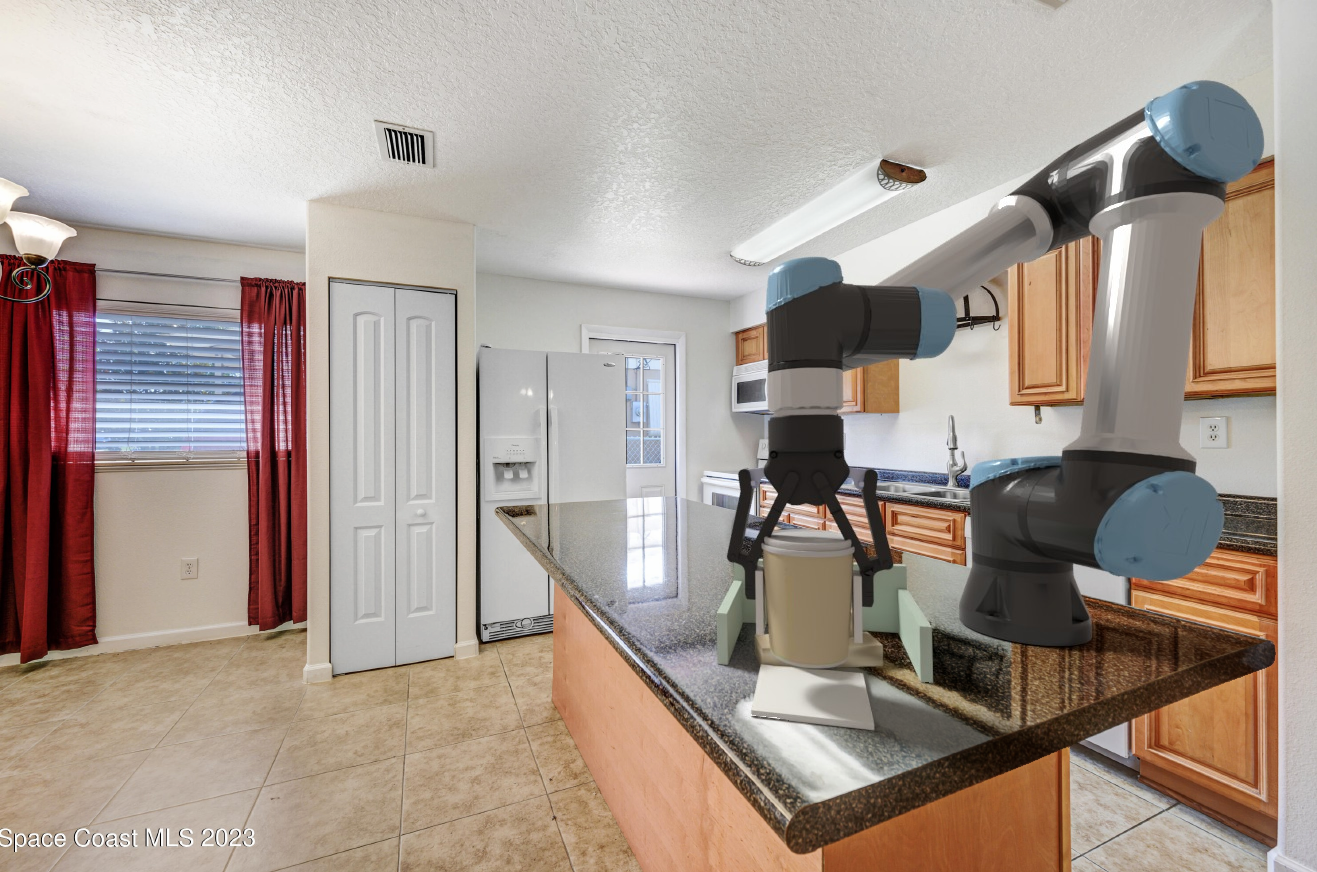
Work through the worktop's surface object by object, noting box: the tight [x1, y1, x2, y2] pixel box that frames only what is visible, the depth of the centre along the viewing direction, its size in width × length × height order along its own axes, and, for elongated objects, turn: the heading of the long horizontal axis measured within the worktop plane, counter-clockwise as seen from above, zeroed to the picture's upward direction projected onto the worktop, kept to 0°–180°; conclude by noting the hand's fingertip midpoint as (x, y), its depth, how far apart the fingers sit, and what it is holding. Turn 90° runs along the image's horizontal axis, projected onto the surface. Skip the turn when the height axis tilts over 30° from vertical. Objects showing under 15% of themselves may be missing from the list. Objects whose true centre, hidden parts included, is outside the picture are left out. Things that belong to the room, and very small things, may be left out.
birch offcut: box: [754, 631, 884, 668], centre depth 66 cm, size 14×4×3 cm, turn 91°
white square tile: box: [750, 664, 875, 731], centre depth 56 cm, size 11×11×1 cm
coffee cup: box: [762, 528, 855, 669], centre depth 56 cm, size 9×9×12 cm
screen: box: [716, 558, 934, 684], centre depth 70 cm, size 23×17×9 cm
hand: (808, 634), depth 56 cm, fingers closed on coffee cup, 9 cm apart
